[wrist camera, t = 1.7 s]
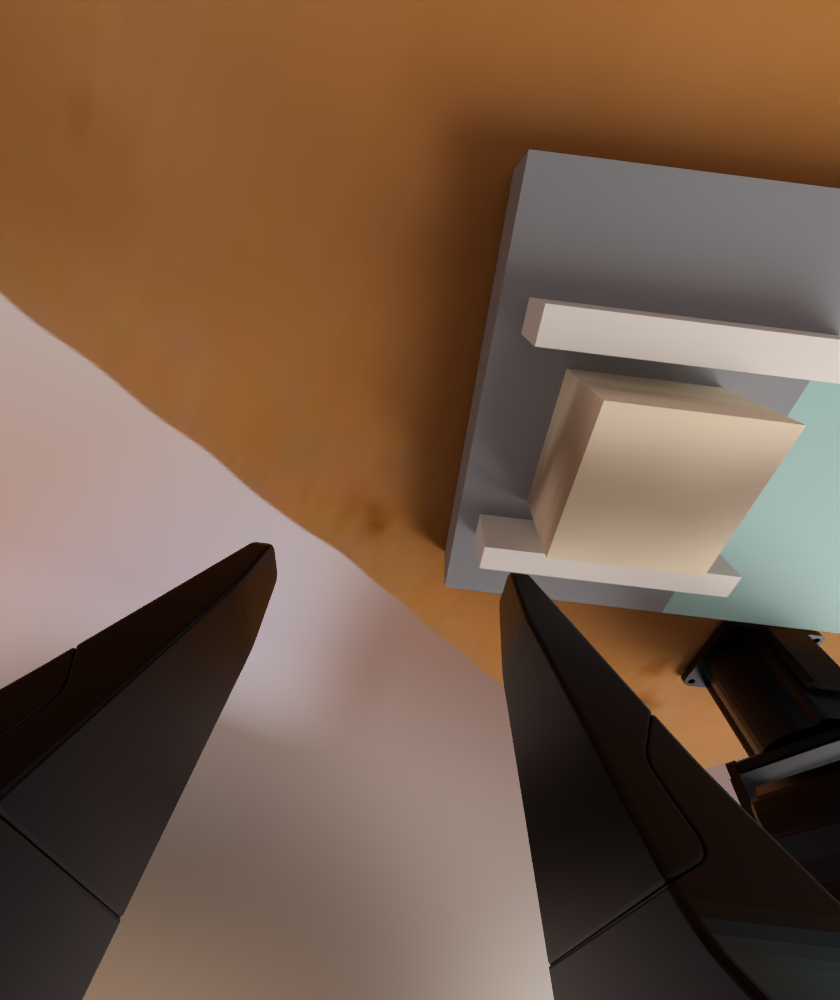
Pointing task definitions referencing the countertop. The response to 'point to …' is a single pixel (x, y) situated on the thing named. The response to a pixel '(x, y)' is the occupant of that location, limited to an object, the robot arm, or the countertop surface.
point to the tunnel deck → (661, 370)
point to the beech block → (651, 470)
